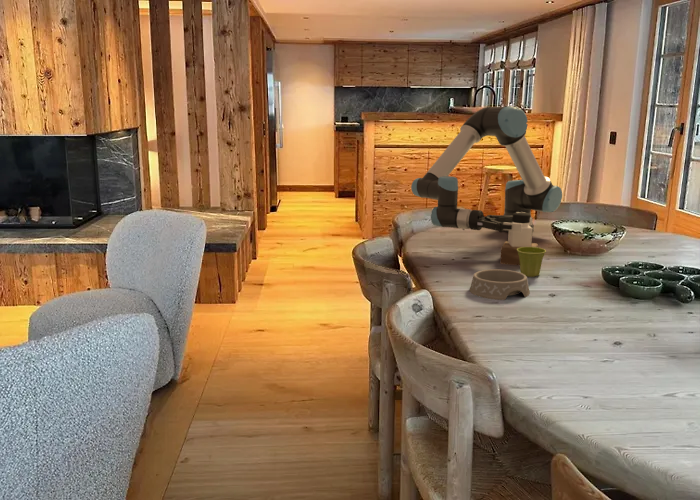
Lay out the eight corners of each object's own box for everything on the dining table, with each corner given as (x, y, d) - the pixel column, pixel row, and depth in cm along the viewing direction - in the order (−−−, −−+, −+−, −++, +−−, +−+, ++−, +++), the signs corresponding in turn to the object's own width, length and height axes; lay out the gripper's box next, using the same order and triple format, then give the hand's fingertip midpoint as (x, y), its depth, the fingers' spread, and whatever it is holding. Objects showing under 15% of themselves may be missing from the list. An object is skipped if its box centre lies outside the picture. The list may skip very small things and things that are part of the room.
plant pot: (545, 279, 205) (547, 253, 203) (516, 277, 207) (517, 252, 205) (543, 271, 214) (544, 247, 212) (514, 270, 216) (516, 246, 214)
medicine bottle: (531, 247, 224) (534, 214, 221) (511, 247, 224) (513, 214, 221) (526, 242, 231) (529, 211, 228) (507, 242, 231) (509, 210, 228)
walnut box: (504, 257, 237) (504, 241, 235) (536, 259, 232) (537, 243, 231) (500, 264, 226) (501, 247, 224) (534, 267, 222) (535, 250, 220)
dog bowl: (459, 287, 197) (459, 271, 196) (508, 281, 204) (509, 265, 202) (489, 303, 182) (489, 285, 181) (541, 296, 188) (542, 279, 187)
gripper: (481, 223, 247) (535, 228, 236) (458, 235, 226) (516, 241, 215) (482, 205, 245) (536, 209, 234) (459, 214, 224) (517, 219, 213)
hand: (527, 224), depth 225 cm, fingers open, 13 cm apart
